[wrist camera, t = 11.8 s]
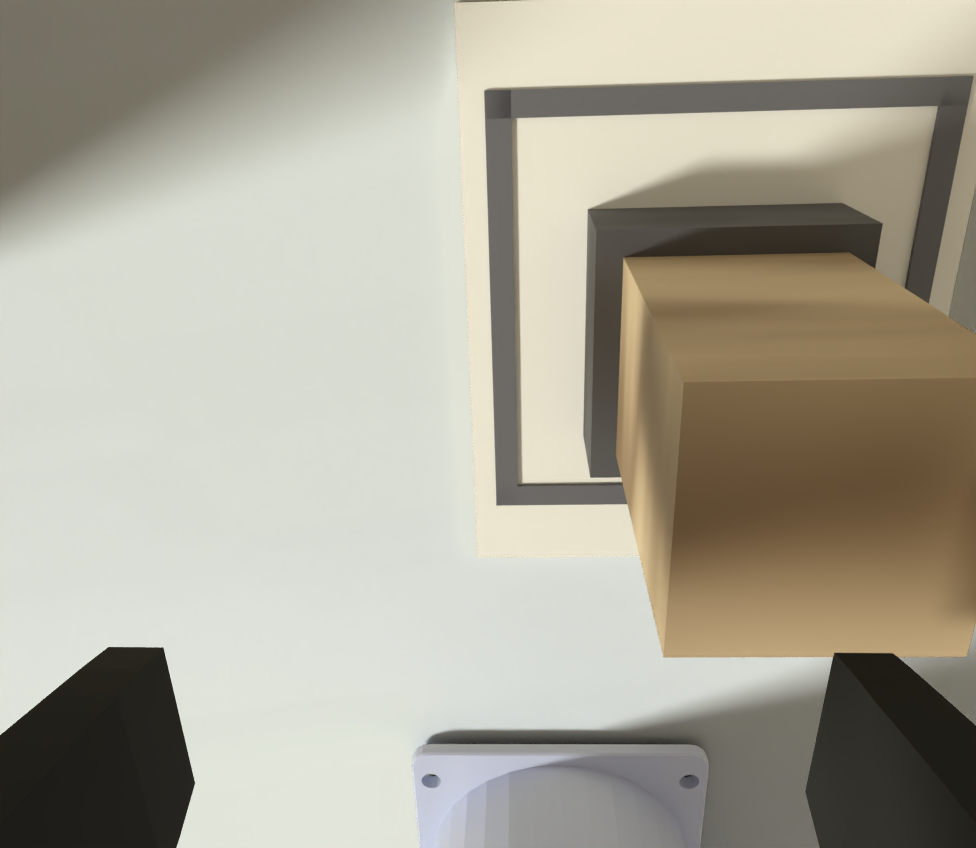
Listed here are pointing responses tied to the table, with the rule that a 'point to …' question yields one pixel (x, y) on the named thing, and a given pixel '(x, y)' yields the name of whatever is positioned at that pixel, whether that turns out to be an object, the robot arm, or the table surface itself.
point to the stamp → (782, 432)
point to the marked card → (675, 189)
